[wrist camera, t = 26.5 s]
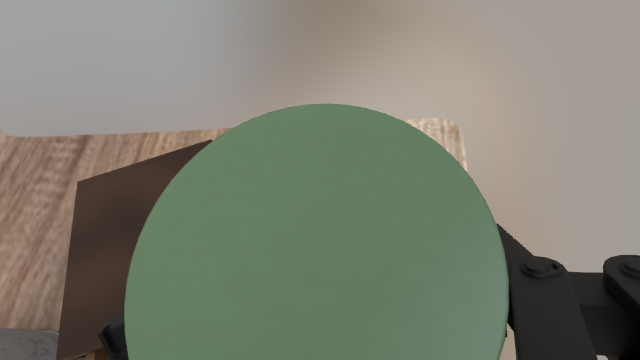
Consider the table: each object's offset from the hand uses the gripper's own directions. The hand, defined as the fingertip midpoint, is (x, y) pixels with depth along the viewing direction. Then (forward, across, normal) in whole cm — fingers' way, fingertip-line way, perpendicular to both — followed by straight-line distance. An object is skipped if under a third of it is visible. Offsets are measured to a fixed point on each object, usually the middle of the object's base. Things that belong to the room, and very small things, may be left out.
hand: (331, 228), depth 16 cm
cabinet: (+18, -17, -9) cm, 27 cm away
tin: (0, 0, -5) cm, 5 cm away
